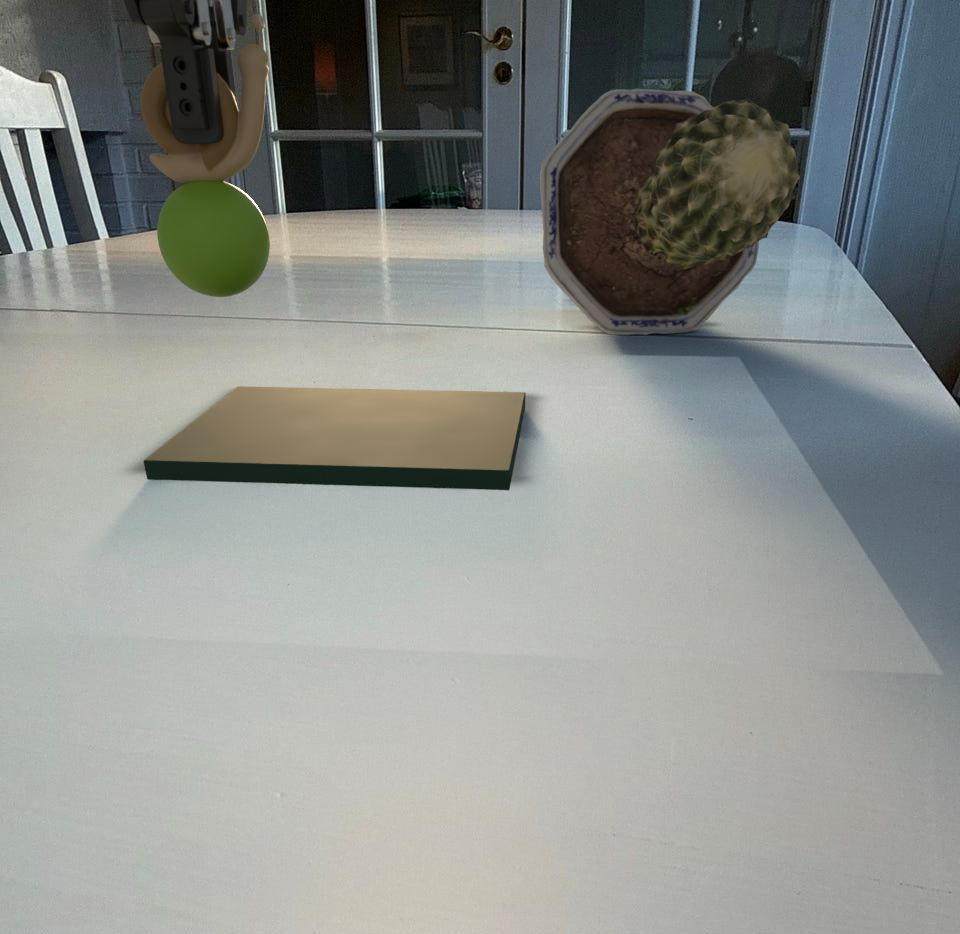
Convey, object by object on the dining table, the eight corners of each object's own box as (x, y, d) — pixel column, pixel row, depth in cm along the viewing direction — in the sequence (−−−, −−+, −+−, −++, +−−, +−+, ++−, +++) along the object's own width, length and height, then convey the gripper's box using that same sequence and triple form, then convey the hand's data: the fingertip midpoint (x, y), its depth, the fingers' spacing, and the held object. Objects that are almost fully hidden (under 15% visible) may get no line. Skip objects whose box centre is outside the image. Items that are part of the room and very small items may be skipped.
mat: (146, 479, 44) (142, 460, 44) (239, 402, 56) (237, 386, 56) (509, 490, 43) (509, 470, 42) (525, 408, 55) (525, 391, 54)
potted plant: (510, 129, 78) (614, -15, 50) (705, 138, 81) (909, 7, 53) (508, 340, 83) (601, 319, 55) (692, 342, 86) (871, 323, 58)
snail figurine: (286, 305, 44) (253, 9, 38) (155, 307, 44) (100, 10, 38) (301, 285, 49) (273, 18, 43) (183, 286, 49) (137, 19, 43)
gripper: (121, -302, 40) (187, 139, 49) (-68, -473, 29) (62, 147, 37) (284, -309, 40) (321, 139, 49) (159, -488, 28) (237, 147, 37)
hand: (208, 140), depth 43 cm, fingers closed on snail figurine
